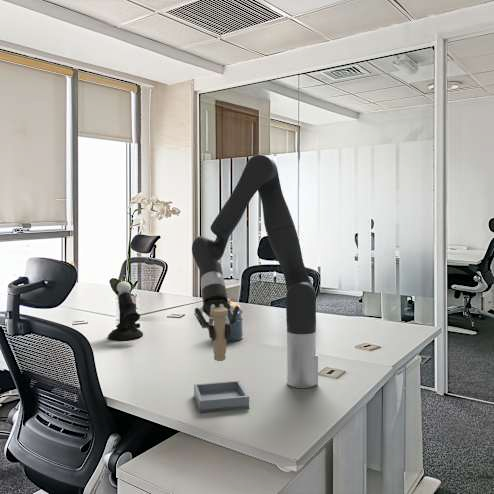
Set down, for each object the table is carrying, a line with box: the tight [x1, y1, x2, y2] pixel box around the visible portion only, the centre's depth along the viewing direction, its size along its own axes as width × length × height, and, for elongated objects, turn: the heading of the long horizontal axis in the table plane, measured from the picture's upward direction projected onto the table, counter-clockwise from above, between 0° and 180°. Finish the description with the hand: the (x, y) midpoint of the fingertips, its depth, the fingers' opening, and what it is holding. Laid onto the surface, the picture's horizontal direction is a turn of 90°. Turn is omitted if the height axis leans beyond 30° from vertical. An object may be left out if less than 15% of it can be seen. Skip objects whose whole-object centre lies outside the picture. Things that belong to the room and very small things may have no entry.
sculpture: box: [107, 280, 144, 342], centre depth 224 cm, size 15×24×25 cm, turn 28°
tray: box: [193, 380, 250, 414], centre depth 149 cm, size 14×14×4 cm
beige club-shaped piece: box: [211, 307, 228, 362], centre depth 148 cm, size 5×6×15 cm
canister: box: [213, 298, 244, 343], centre depth 223 cm, size 13×13×18 cm
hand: (220, 338), depth 146 cm, fingers closed on beige club-shaped piece, 3 cm apart
